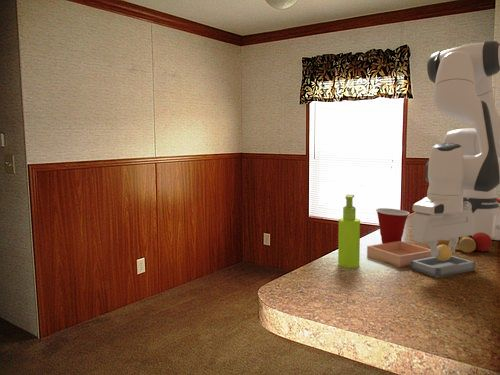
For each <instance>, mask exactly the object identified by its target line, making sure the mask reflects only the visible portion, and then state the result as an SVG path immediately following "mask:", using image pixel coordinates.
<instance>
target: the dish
mask: <svg viewBox="0 0 500 375" xmlns="http://www.w3.org/2000/svg"><path fill="white" fill-rule="evenodd" d="M366 256H367V258H371V259H375V260H377V261H378V262H383V263H386V264H388V265H391V266H394V267H397V268H406V267H411V261H413V260H418V259H424V258H429V257H434V256H432V255H431V249H430V248H427V247H423V246H421V245H420V246H419V245H418V244H417V245H416V244H412V243H408V242H406V241H405V242H404V241H402V240H401V241H397V242H390V243H384V244H382V243H379V244H372V245H367V247H366Z"/></svg>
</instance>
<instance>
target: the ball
mask: <svg viewBox="0 0 500 375" xmlns="http://www.w3.org/2000/svg"><path fill="white" fill-rule="evenodd" d="M437 248H438V249H439V250H440V256H436V258H437V259H438V260H440V261H447V260H449V259H450V258H451V256H453V254H452V251H451V249H450V248H449V247H448V246H446V245H439V246H437Z"/></svg>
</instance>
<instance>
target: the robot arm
mask: <svg viewBox="0 0 500 375" xmlns="http://www.w3.org/2000/svg"><path fill="white" fill-rule="evenodd" d="M499 72H500V42H498V41H496V40H485V41H484V42H475V43H473V42H471V43H467V44H462V45H460V46H456V47H451V48H449V49H445V50H439V51H436V52H434V53H432V54H431V55H430V56H429V58H428V59H427V63H426V73H427V77H428V78H429V81H431V82H432V83H433V84H434V91H433V97H434V98H433V99H434V105H435V108H436V109H437V111H439V112H440V113H441V115H444V117H445V116H446V117H447V118H449V119H453V120H456V121H460V122H463V123H465V124H468V125H470V126H471V127H467V128H465V127H464V128H458V129H453V130H449V131H448V132H447V133H446V134H445V136H444V137H443V139H442V143H437V144H434V145H433V146H432V147H431V148H430V152H429V159H428V161H427V162H426V163H425V181H427V183H428V188H427V193H426V196H425V197H423V198H422V199H420V200H419V201H417V202H415V203H413V205H412V211H413V212H415V213H414V214H413V215H412V217H411V218H412V219H411V239H412V240H413V241H415V242H418V243H423V244H424V243H427V244H428V247H429V249H431V255H432V256H434V257H436V256H440V250H439V249H438V248H437V246H436V244H438V240H444V239H449V240H450V242H449V244H448V247H449V248H450V249H451V251H452V255H453V254H455V253H456V247H457V243H458V241H459V237H462V236H468V235H472V236H473V235H474V234H476V233H480V232H482V233H486V234H487V235H489V236H490V238H491V240H495V241H500V208H499V207H500V206H499V204H500V197H497V187H498V186H499V185H500V113H498V110H497V107H496V102H495V98H494V91H493V84H492V78H491V77H492V76H494V75H497V74H498V73H499Z"/></svg>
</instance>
